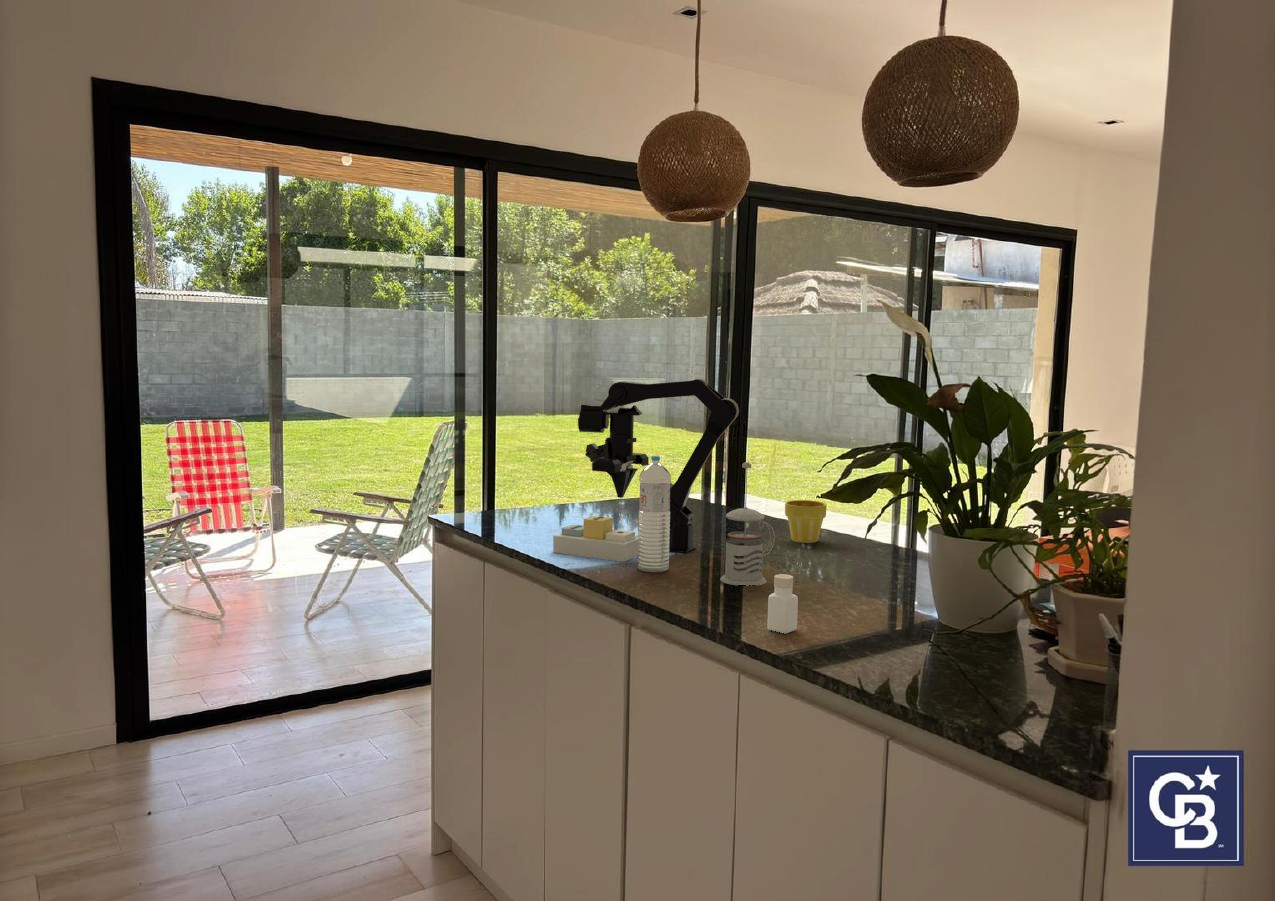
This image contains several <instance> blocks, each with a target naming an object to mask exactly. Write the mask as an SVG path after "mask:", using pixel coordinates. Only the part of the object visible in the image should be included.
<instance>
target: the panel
mask: <svg viewBox="0 0 1275 901" xmlns="http://www.w3.org/2000/svg"><path fill="white" fill-rule="evenodd" d="M561 534H562V532H561V533H557V534H555V535H552V538H553V539H552V540H553V543H552V546H553V548H552V551H553V553H555V552H556V554H564V555H572V556H578V557H586V558H593V559H600V560H601V559H602V560H608V561H609V560H610V561H615V560H616V562H617V561H618V562H623V563H625V562H627V561H630V560H632V559H635V558H638V544H639V543H638V540H639V539H638V536H635V539H634V540H632V541H629V542H626V543H624V542H616V541H608V540H606V539H604V540H599V539H591V538H583V536H582V537H575V536H567V535H561Z"/></svg>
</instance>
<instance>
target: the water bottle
mask: <svg viewBox="0 0 1275 901" xmlns="http://www.w3.org/2000/svg"><path fill="white" fill-rule="evenodd" d="M650 460H651V462H650V463H649V464H648V465H646V466H644V468H643V469H642V471H641V472H640V474H639V479H638V480H639V505H638V506H639V510H638V533H637V534H638V536H637V537H638V539H639V540H638V543H639V544H638V556H637V567H638V570H639V571H642V572H644V573H649V574H650V573H652V574H653V573H654V574H655V573H656V574H657V573H664V572H666V571H668V570H669V567H670V551H669V543H670V541H669V539H670V536H669V535H670V532H669V531H670V528H669V527H670V483H672V482H671V481H672V476H671V474H670V472H669V470H668V469H667V468H666V467H665V466H664V465H663V464H661V463H660V460H661V456H660V455H651V458H650Z"/></svg>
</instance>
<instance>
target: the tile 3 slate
mask: <svg viewBox="0 0 1275 901" xmlns="http://www.w3.org/2000/svg"><path fill="white" fill-rule="evenodd" d="M583 529H584V525H581V524H577V525H576V524H571V525H568V526H564V527H561V533H562V534H561V535H567V536H575V537H582V536H583Z"/></svg>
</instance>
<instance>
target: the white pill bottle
mask: <svg viewBox="0 0 1275 901" xmlns="http://www.w3.org/2000/svg"><path fill="white" fill-rule="evenodd" d="M773 578H774V579H773V583H774V584H773V587H774V592H773V593H771V594H769V596H768V598H767V601H768V602H767V623H766V624H767V626H766V627H767V630H769V631H771V630H772V632H775V631H776V633H779V632H780V633H779V634H783V633H784V635H785V634H789V633H791V632H794V631H796V630H797V627H798V610H799V608H798V607H799V605H798V604H799V597H798V596H797V595H796V594H794V593H793V589H794V576H793V575H791V574H785V573H784V574H783V573H782V574H781V573H780V574H775V575H774V577H773Z"/></svg>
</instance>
